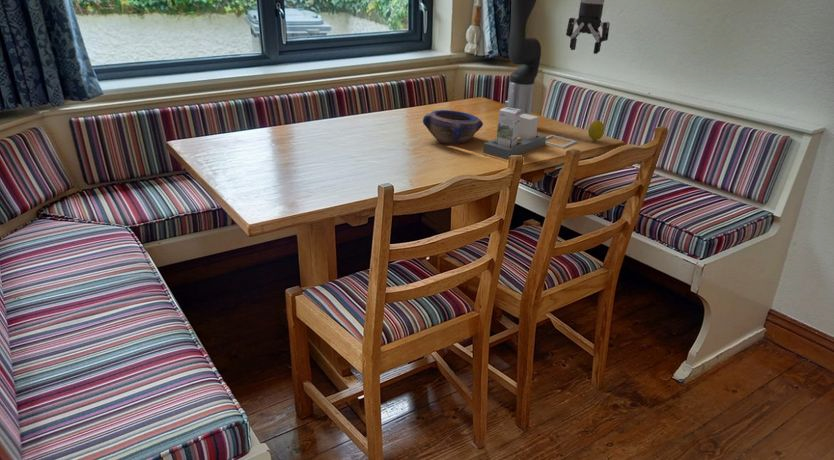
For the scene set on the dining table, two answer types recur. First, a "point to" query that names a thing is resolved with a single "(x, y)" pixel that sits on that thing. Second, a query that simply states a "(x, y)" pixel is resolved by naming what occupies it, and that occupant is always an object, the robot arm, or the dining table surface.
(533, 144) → the socket strip
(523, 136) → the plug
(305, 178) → the dining table surface
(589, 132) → the lemon
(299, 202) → the dining table surface
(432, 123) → the bowl
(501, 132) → the syrup box
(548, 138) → the tray
